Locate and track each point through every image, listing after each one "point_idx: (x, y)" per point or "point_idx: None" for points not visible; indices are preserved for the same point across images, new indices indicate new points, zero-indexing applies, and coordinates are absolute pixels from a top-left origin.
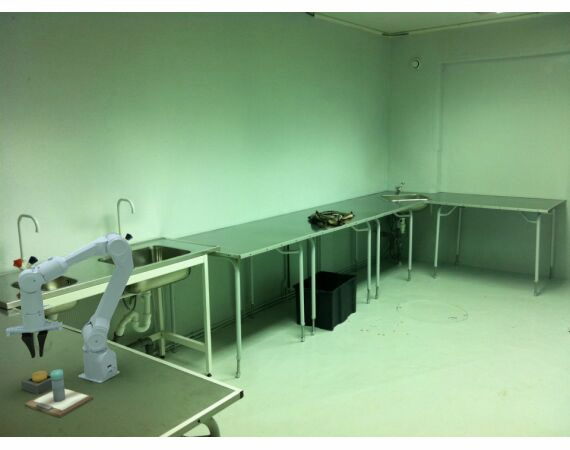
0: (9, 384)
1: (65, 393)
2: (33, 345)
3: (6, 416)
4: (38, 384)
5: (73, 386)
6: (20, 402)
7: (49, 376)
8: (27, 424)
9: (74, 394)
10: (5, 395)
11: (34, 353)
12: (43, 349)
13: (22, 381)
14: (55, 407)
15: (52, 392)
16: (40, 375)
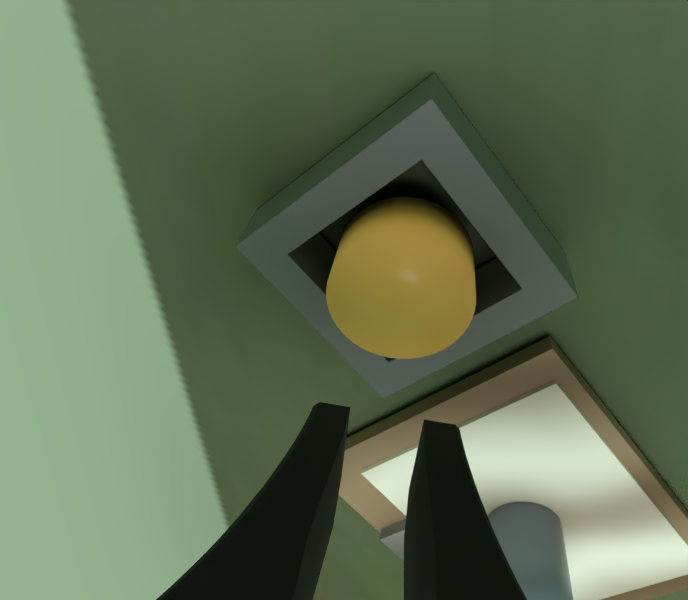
0: (115, 25)
1: (575, 482)
2: (307, 563)
3: (227, 497)
4: (391, 378)
5: (668, 338)
6: (278, 391)
7: (495, 250)
8: (344, 596)
9: (628, 519)
10: (146, 244)
11: (337, 492)
12: (471, 477)
13: (247, 258)
14: None
15: (490, 430)
16: (409, 344)
